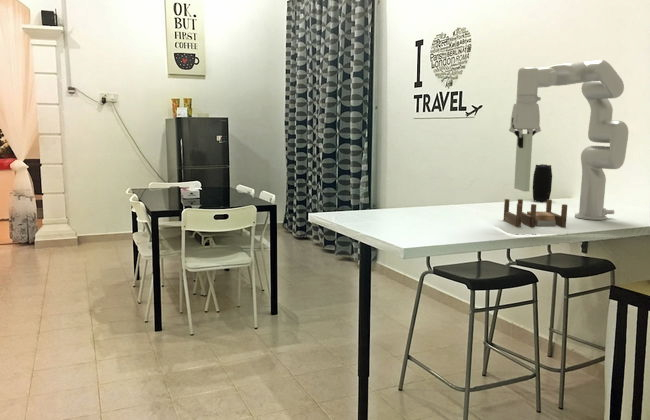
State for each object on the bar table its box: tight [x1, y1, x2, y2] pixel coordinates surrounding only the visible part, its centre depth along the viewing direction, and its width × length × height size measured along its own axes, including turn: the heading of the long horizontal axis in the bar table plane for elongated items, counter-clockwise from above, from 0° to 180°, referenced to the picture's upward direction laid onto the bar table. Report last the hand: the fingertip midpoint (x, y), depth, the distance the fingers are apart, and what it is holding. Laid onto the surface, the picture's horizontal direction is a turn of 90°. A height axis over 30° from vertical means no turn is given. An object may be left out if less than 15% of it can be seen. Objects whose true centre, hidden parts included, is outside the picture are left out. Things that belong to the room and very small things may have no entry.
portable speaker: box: [532, 163, 553, 203], centre depth 298 cm, size 9×9×20 cm
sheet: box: [513, 133, 534, 192], centre depth 221 cm, size 2×11×22 cm, turn 1°
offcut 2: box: [535, 220, 557, 227], centre depth 224 cm, size 8×10×2 cm
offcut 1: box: [526, 210, 555, 221], centre depth 224 cm, size 8×10×2 cm
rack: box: [503, 198, 568, 228], centre depth 224 cm, size 19×16×10 cm
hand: (523, 147), depth 220 cm, fingers closed on sheet, 2 cm apart
